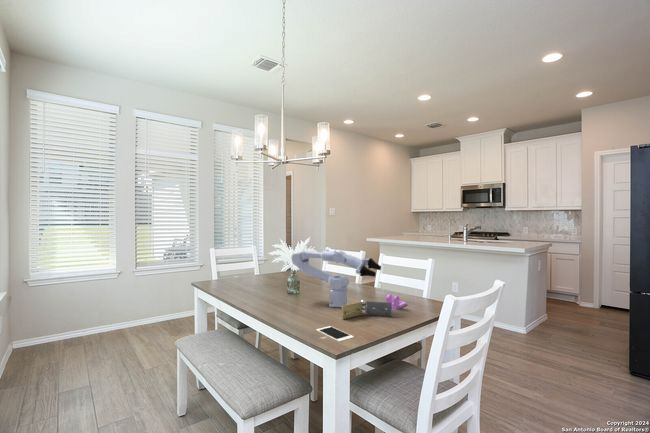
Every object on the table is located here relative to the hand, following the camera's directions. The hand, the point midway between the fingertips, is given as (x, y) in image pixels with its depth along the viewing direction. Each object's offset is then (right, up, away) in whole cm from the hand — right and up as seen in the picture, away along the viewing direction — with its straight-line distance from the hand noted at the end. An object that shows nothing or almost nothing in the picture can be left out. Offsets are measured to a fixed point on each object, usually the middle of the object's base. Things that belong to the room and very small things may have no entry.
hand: (378, 271), depth 165 cm
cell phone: (-23, -21, -33) cm, 45 cm away
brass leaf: (-13, -20, -10) cm, 26 cm away
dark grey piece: (-2, -20, -8) cm, 22 cm away
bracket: (+12, -21, +8) cm, 25 cm away
